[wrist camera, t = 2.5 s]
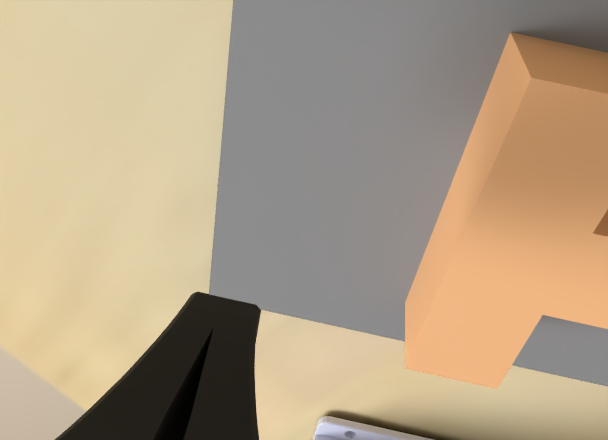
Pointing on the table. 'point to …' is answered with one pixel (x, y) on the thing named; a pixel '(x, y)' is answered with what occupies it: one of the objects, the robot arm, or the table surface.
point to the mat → (367, 153)
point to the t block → (518, 218)
